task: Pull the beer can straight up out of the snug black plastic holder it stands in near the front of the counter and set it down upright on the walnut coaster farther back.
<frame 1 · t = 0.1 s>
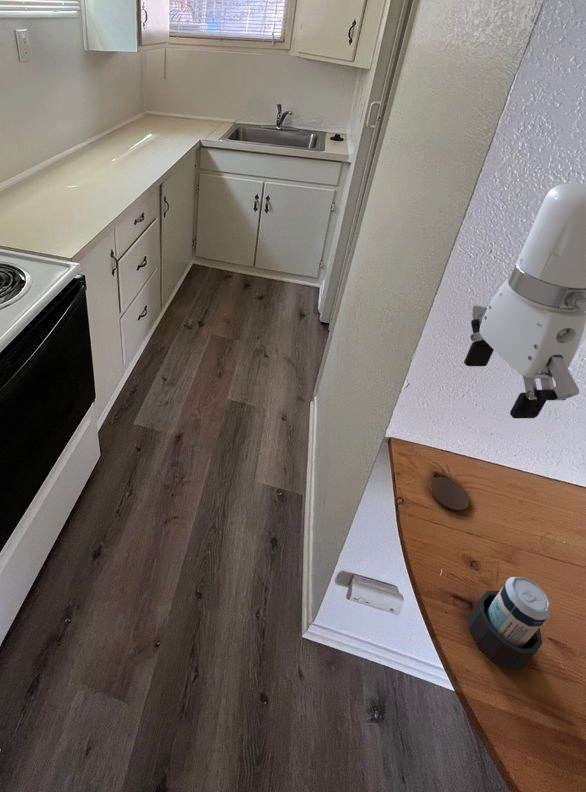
hand: (496, 388, 60), 32 cm above the table, tool pointing down, fingers open, 9 cm apart
beer can: (496, 637, 61), resting in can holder
coaster: (448, 494, 80), on the table
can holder: (496, 637, 61), on the table
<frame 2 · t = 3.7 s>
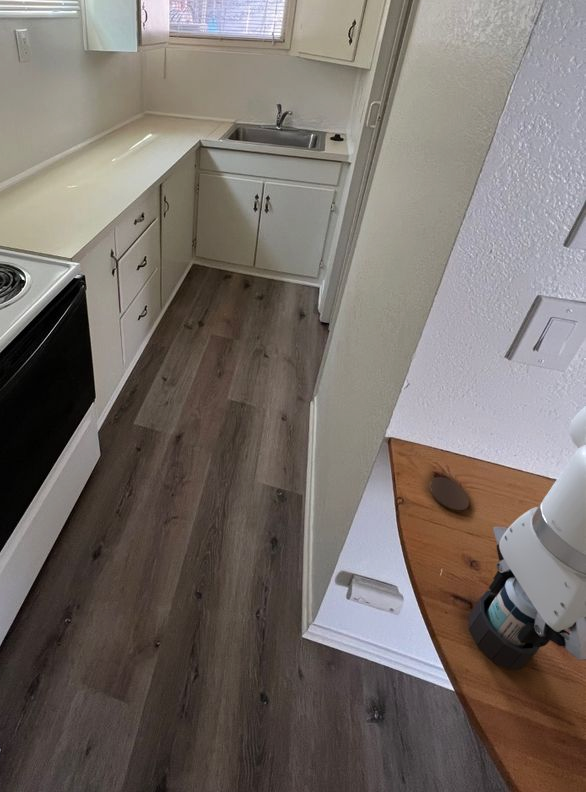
hand: (515, 613, 58), 7 cm above the table, tool pointing down, fingers closed on beer can, 4 cm apart
beer can: (496, 637, 61), resting in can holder, touching gripper
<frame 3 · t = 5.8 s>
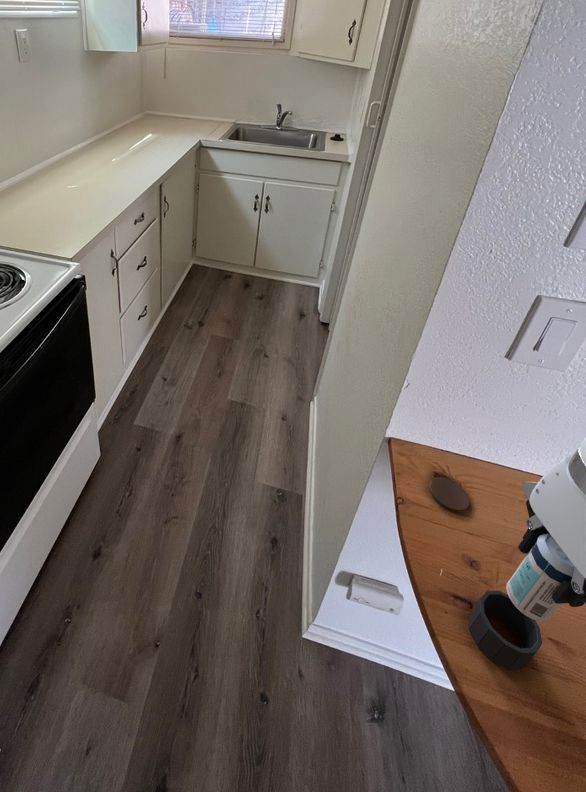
hand: (547, 573, 53), 17 cm above the table, tool pointing down, fingers closed on beer can, 4 cm apart
beer can: (526, 601, 57), point 10 cm above the table, touching gripper
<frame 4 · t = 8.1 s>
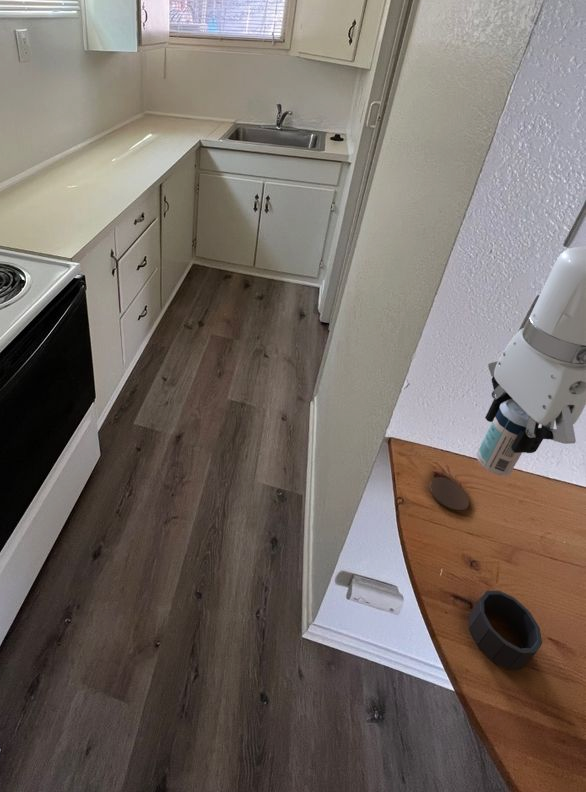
hand: (508, 433, 64), 23 cm above the table, tool pointing down, fingers closed on beer can, 4 cm apart
beer can: (492, 464, 67), point 16 cm above the table, touching gripper
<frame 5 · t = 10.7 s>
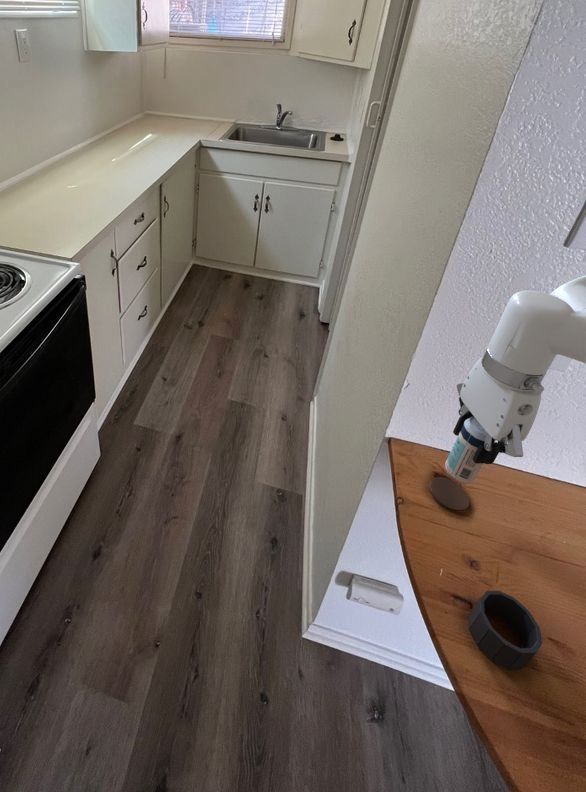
hand: (472, 446, 74), 13 cm above the table, tool pointing down, fingers closed on beer can, 4 cm apart
beer can: (458, 473, 77), point 6 cm above the table, touching gripper
when the fingers open (7 cm above the table, at t = 12.5 s): beer can stays where it is, resting on coaster.
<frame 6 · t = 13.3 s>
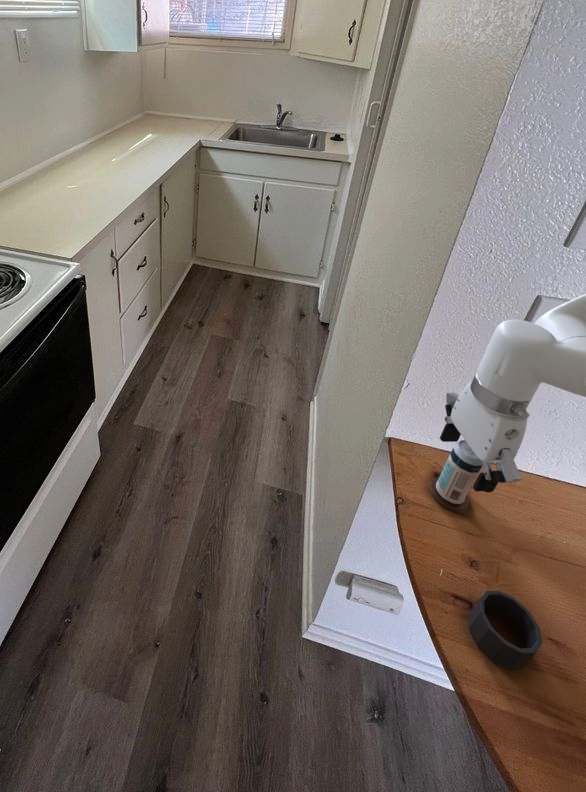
hand: (464, 463, 76), 9 cm above the table, tool pointing down, fingers open, 9 cm apart
beer can: (449, 493, 80), resting on coaster
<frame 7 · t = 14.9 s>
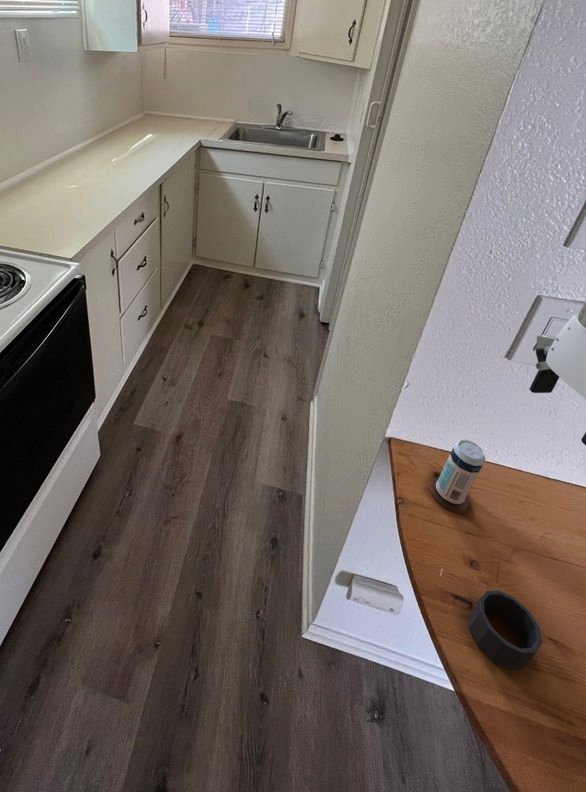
hand: (564, 415, 64), 26 cm above the table, tool pointing down, fingers open, 9 cm apart
nothing on the table moved.
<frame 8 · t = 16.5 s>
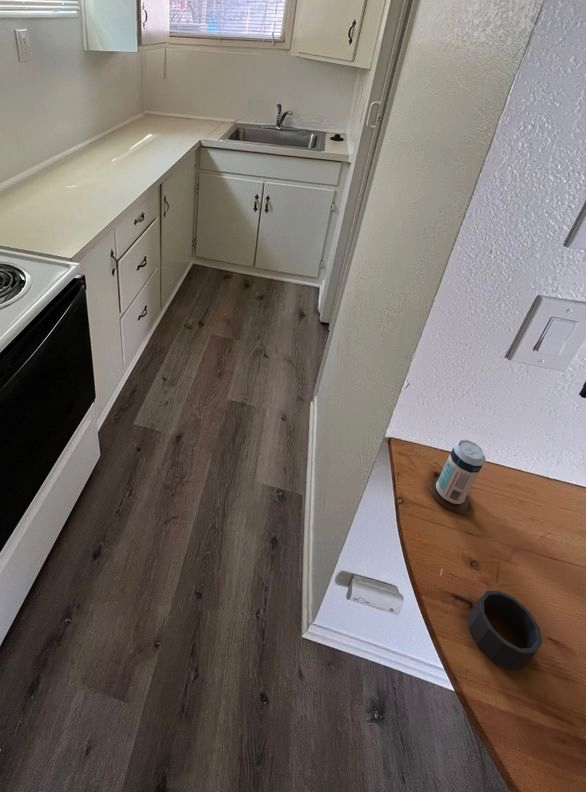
nothing on the table moved.
at the end: beer can 0.0 cm off-centre on the coaster, point 0.4 cm above the coaster's base; beer can tilted 0°; the gripper is holding nothing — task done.
